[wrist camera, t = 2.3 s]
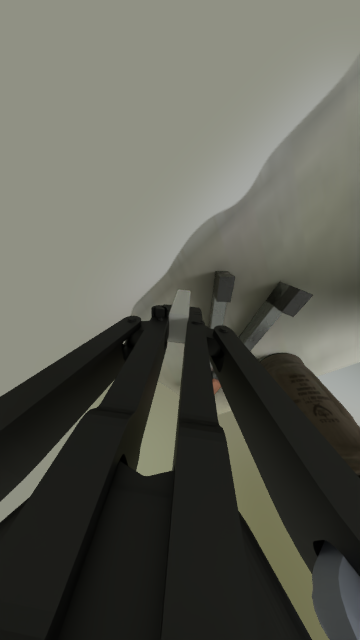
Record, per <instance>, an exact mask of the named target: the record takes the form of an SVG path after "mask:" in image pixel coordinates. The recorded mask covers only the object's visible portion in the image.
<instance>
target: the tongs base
mask: <svg viewBox="0 0 360 640" xmlns="http://www.w3.org/2000/svg"><path fill="white" fill-rule="evenodd" d="M312 296H313V295H312V294H310V293H307V292H305V291H303V290H300V289H298V288H295V287H293V286H290V285H288V284H285V283H283V282H279V284H278V285H277V286H276V288H275V289H274V290H273V292H272V293H271V294H270V296H269V297H268V298H267V300H266V301H265V303H264V304H263V305H262V307H261V308H260V309H259V311H258V312H257V313H256V315H255V316H254V318H253V319H252V320H251V322H250V323H249V324H248V326H247V327H246V328H245V330H244V331H243V333H242V334H241V335H240V337H239V339H240V340H241V341H242V342H243V344H244V345H245V346H246V347H247V348H248V349H249V351H251V350H252V348H253V347H254V346H255V345H256V344H257V342H258V341H259V340H260V339H261V338H262V337H263V335H264V334H265V333H266V332H267V331H268V330H269V328H270V327H271V326H272V325H273V324H274V322H275V321H276V320H277V319H278V318H279V317H280V315H281V314H282V313H285V314H287V315H290V316H292V317H294V316H295V315H296V314H297V312H298V311H299V310H300V309H301V308H302V307H303V306H304V305H305V304H306V303H307V301H308V300H309V299H310V298H311V297H312ZM211 374H212V380H213V379H216V380H218V378H217V376H216V374H215V372H214V371H211Z"/></svg>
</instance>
